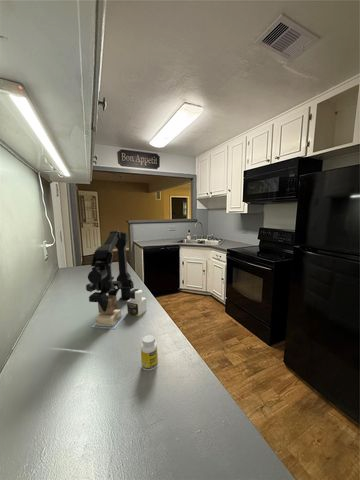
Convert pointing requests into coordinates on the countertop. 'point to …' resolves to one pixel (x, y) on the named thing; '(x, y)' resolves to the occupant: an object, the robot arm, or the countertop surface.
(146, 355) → the supplement bottle
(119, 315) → the maple slab
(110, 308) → the walnut cube
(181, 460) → the countertop surface
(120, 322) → the blueprint board
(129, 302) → the medicine bottle
